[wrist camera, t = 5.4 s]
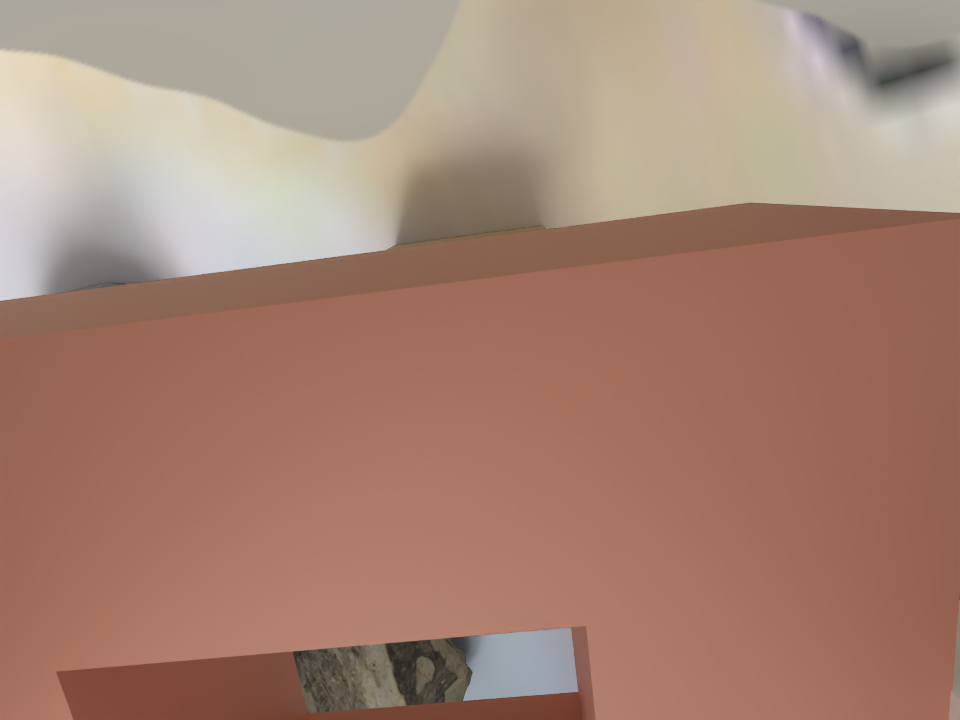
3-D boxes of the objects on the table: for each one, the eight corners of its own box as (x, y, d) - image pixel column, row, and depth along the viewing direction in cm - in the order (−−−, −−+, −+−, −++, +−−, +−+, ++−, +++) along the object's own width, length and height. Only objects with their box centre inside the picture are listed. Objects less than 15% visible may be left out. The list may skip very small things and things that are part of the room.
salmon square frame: (762, 817, 10) (913, 1186, 7) (186, 853, 11) (16, 1207, 7) (750, 202, 8) (987, 213, 4) (3, 300, 9) (-410, 392, 5)
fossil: (248, 565, 34) (267, 664, 25) (403, 497, 37) (470, 563, 28) (311, 727, 36) (350, 872, 27) (452, 649, 40) (528, 755, 31)
